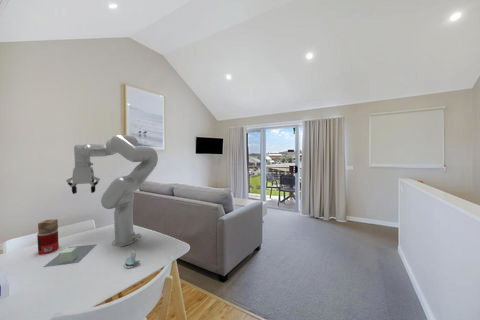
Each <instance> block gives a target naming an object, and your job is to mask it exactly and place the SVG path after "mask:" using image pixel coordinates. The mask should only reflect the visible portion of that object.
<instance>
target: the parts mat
mask: <svg viewBox="0 0 480 320" xmlns="http://www.w3.org/2000/svg"><path fill="white" fill-rule="evenodd" d="M97 245H98V243H97V244H87V245H85V244H84V245H76V246H75V247H77V258H76V259H74V260H73V261H72V262H69V263H61V264H59V254H58V255H57V256H55V257H54V258H52V260H50V261H49V262H48V263H46V264H45V265H43V268H48V267H58V266H63V265H71V264H72V265H73V264H78V263H80V262H81V261H82V260H83V259H84V258H85V257H86V256H87V255H88V254H89V253H90V252H91V251H92V250H93V249H94V248H95V247H96V246H97ZM73 247H74V246H68V247H67V248H73Z"/></svg>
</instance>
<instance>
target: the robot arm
mask: <svg viewBox="0 0 480 320" xmlns="http://www.w3.org/2000/svg"><path fill="white" fill-rule="evenodd" d="M138 145H139V141H138V139H137V138H136V137H135V136H133V135H129V134H128V135H125V134H115V135H113V136H112V137H111V138H110V139H108V140H107V141H106V144H103V143H102V144H100V143H99V144H96V143H86V144H85V143H84V144H76V145H74V146H73V151H74V154H73V155H74V167H73V169H72V175H71V177H70V178H67V179H66V180H65V181H66V183H67V184H68V186H69V187H70V188H71V192H72V195H75V194H77V192H78V188H77V185H85V184H89V185H90V193H92V194H94V193H95V192H96V186H97V185H98V184H99V182H100V180H101V178H100V177H96V176H95V172H94V168H93V165H94V163H93V162H91V158H95V157H96V158H97V157H100V158H101V157H107V156H113V155H116V154H119V155H121V156H122V157H123V158H125V159H126V160H127V161H129V162H131V163H138V164H137V165H136V166H134V168H133V169H132V171H131V172H130V173H129V174H127V175H124V176H123V175H122V176H119V177H116V178H115V179H114V180H113V181H112V182H111V183H110V184H109V185H108V187H107V188H106V190H105V191H104V193H103V194H102V196H101V197H100V198H101V199H100V203H101V206H102V208H104V209H106V210H107V209H108V210H113V209H114V211H113V224H114V239H113V240H112V241H111V245H112V247H126V246H128V245H132V244H134V243H135V242H136V241H137V239H141V238H142V234H141V233H136V231H134V210H133V209H134V203H135V193H134V192H136V191H138V190H139V189H140V188H141V187H142V186H143V184H144V183H145V181H146V180H147V178H148V177H149V176H150V175H151V174H152V172H153V171H154V170H155V168H156V166H157V165H158V159H159V157H158V153H157V151H156V149H154V148H153V147H150V146H144V145H143V146H142V145H141V146H140V145H139V146H138Z"/></svg>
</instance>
